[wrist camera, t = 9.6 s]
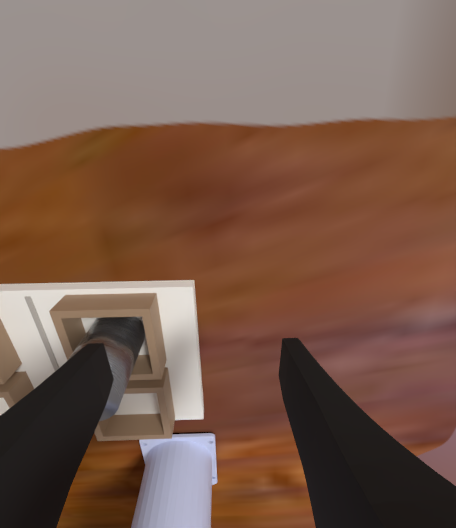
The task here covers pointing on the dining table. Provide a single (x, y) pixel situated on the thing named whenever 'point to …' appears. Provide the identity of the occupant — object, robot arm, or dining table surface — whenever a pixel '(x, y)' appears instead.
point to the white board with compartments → (76, 326)
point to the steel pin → (116, 352)
